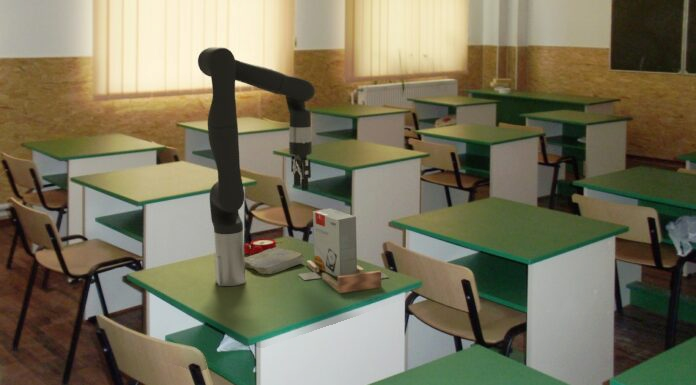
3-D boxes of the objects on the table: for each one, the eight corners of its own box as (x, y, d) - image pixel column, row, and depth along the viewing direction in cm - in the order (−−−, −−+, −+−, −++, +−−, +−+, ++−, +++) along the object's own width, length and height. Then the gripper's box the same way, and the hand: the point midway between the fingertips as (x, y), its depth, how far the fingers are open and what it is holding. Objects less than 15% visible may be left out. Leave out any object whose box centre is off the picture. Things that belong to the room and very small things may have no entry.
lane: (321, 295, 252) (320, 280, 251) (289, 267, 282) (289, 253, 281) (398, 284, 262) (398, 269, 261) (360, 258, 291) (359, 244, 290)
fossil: (232, 270, 286) (264, 276, 274) (231, 257, 285) (263, 263, 273) (275, 259, 300) (308, 264, 288) (274, 247, 299) (307, 252, 287)
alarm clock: (285, 241, 304) (256, 240, 292) (283, 257, 304) (254, 258, 293) (265, 237, 311) (236, 236, 299) (263, 253, 311) (234, 253, 299)
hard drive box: (313, 267, 282) (311, 211, 278) (332, 263, 286) (330, 207, 282) (339, 278, 269) (337, 219, 265) (358, 274, 274) (356, 215, 270)
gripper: (283, 138, 280) (284, 185, 283) (295, 143, 267) (296, 192, 270) (304, 137, 283) (305, 183, 286) (317, 142, 270) (318, 190, 273)
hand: (301, 187), depth 278 cm, fingers open, 8 cm apart
